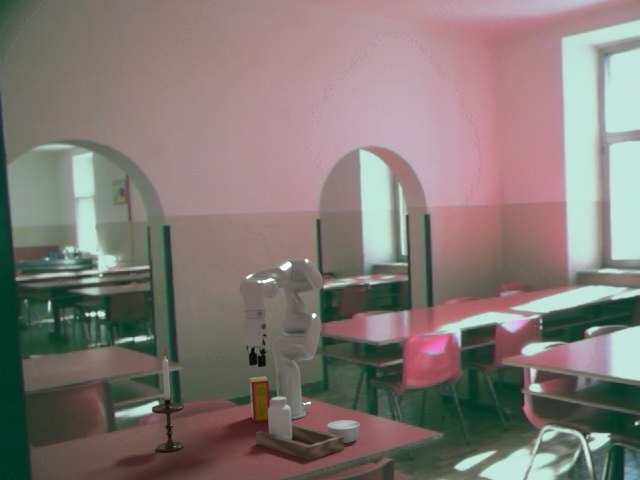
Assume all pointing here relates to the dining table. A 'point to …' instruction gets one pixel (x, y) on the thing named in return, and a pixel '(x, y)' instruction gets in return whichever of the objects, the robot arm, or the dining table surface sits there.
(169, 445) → the candlestick
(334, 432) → the ramekin
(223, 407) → the dining table surface
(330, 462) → the dining table surface
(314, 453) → the u rest
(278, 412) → the pill bottle
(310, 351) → the robot arm
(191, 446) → the dining table surface
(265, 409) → the baking soda box
